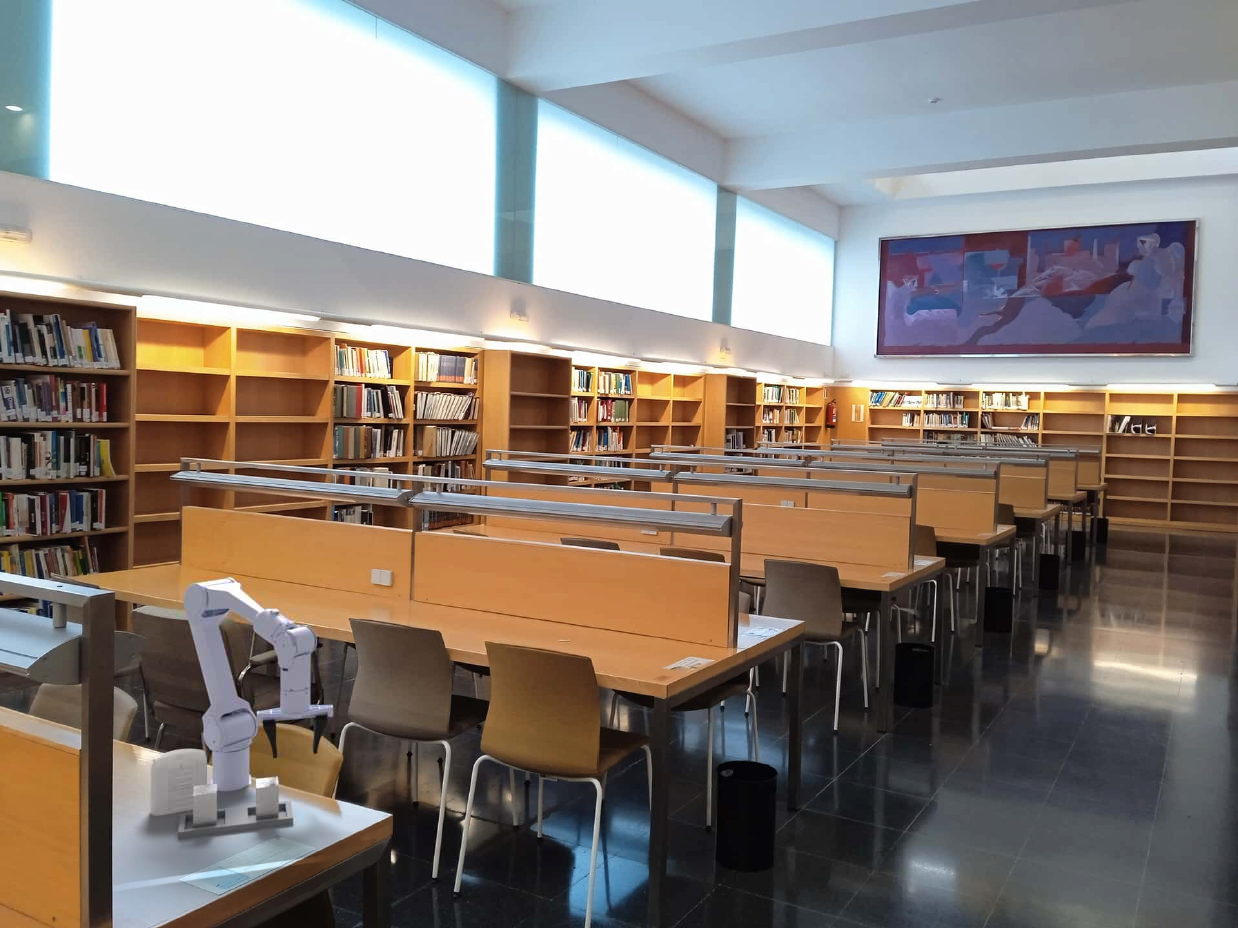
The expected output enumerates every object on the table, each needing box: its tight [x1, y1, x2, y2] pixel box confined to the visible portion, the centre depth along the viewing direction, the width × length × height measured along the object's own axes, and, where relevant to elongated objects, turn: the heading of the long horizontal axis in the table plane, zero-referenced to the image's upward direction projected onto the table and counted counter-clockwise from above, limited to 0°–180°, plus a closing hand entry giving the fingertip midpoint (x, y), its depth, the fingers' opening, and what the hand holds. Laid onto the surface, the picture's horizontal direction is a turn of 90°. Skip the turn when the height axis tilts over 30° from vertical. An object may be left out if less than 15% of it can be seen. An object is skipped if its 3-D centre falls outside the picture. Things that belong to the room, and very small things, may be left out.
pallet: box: [177, 800, 294, 840], centre depth 185 cm, size 9×20×2 cm, turn 112°
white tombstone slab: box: [149, 748, 208, 817], centre depth 191 cm, size 10×4×12 cm, turn 123°
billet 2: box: [255, 776, 280, 820], centre depth 187 cm, size 5×4×7 cm
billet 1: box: [192, 783, 218, 828], centre depth 183 cm, size 5×4×7 cm
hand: (295, 754), depth 195 cm, fingers open, 7 cm apart
